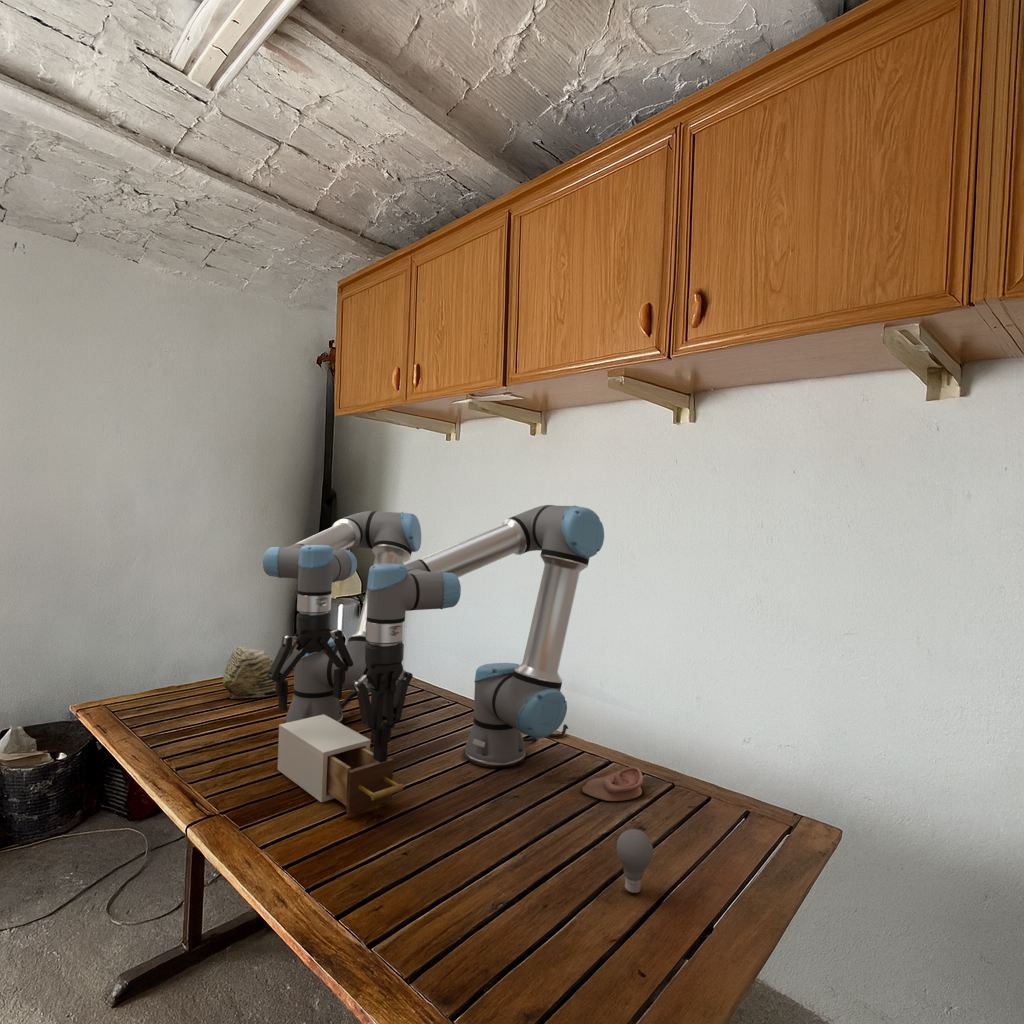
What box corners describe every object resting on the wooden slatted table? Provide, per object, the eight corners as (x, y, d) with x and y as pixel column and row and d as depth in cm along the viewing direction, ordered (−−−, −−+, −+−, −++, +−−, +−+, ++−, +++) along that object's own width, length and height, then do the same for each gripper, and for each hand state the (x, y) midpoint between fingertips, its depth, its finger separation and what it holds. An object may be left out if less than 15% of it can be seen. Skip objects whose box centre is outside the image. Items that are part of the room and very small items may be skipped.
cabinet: (368, 787, 139) (370, 739, 139) (321, 802, 131) (323, 752, 131) (322, 757, 154) (323, 714, 154) (277, 769, 146) (278, 724, 146)
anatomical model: (581, 779, 138) (585, 758, 149) (580, 797, 138) (585, 775, 149) (643, 787, 135) (643, 766, 147) (642, 806, 136) (642, 783, 147)
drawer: (409, 810, 128) (411, 769, 127) (365, 827, 120) (367, 783, 120) (344, 768, 145) (345, 732, 145) (302, 781, 138) (304, 742, 138)
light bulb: (610, 879, 108) (613, 822, 108) (644, 879, 109) (647, 822, 109) (619, 902, 102) (622, 840, 102) (655, 901, 103) (658, 840, 103)
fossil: (218, 695, 195) (220, 647, 195) (278, 685, 208) (279, 640, 207) (228, 703, 189) (230, 653, 188) (289, 692, 201) (290, 645, 201)
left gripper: (268, 620, 135) (265, 719, 135) (369, 609, 152) (366, 696, 153) (253, 614, 140) (250, 709, 141) (353, 604, 158) (350, 689, 158)
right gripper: (366, 650, 119) (361, 775, 119) (422, 641, 128) (417, 757, 128) (345, 642, 124) (341, 762, 124) (401, 634, 133) (396, 745, 133)
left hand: (310, 703), depth 147 cm, fingers open, 13 cm apart
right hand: (380, 759), depth 126 cm, fingers closed
